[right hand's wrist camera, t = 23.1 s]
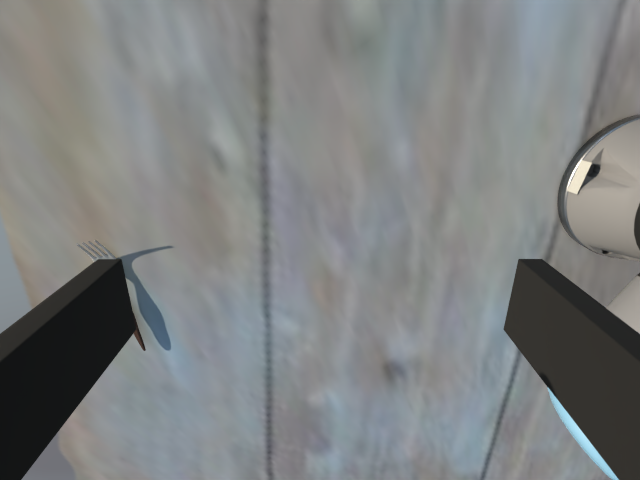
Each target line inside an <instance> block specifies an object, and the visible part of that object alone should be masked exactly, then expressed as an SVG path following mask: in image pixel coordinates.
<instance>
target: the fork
mask: <svg viewBox="0 0 640 480" xmlns="http://www.w3.org/2000/svg"><path fill="white" fill-rule="evenodd" d="M94 241H95V242H96V243H97V244H98V245H99V246H101V247H102V248H103V249H104V250H105V251H106V253H107V254H108V255H106V254H105V253H104V252H102V251H101V250H100V249H99V248H98V247H96V246H95V245H94V244H93V243H91V242H90V241H89V243H90V244H91V245H92V246H93V247H94V248H96V249H97V250H98V251H99V252H100V253H101V255H102V256H100V255H99V254H98V253H96V252H95V251H94V250H93V249H92V248H90V247H89V246H88V245H86V244H85V243H84V242H83V244H84V245H85V246H86V247H87V248H88V249H89V250H91V251H92V252H93V253H94V254H95V255H96V257H94V256H93V255H92V254H90V253H89V252H88V251H87V250H85V249H84V248H83V247H82V246H80V245H79V244H76V245H77V246H79V247H80V248H81V249H82V250H83V251H85V252H86V253H87V254H88V255H89V256H90V257H91V258H92V260H93V261H94V262H95V261H96V260H98V259H116V258H115V257H114V256H113V255H112V254H111V253H110V252H109V251H108V250H107V249H106V248H105V247H104V246H102V245H101V244H100V243H99V242H97V241H96V240H94ZM133 316H134V313H133ZM134 321H135V326H136V330H135V332H134V335H135V337H136V339H137V341H138V342H139V344H140V346H141V347H142V349H143V350H144V351H145V346H144V343H143V340H142V337H141V334H140V332H139V329H138V325H137V322H136V319H135V316H134Z"/></svg>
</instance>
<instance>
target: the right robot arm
mask: <svg viewBox="0 0 640 480" xmlns="http://www.w3.org/2000/svg"><path fill="white" fill-rule="evenodd" d="M558 212H559V217H560V220H561V223H562V225H563V227H564V229H565V230H566V232H567V233H568V234H569V236H570V237H572V238H573V239H574V240H575V241H576V242H578V243H579V244H581V245H582V246H584V247H586V248H588V249H589V250H591V251H593V252H595V253H598V254H601V255H605V256H608V257H613V258H622V259H628V260H633V261H640V115H635V116H631V117H628V118H625V119H622V120H619V121H617V122H615V123H613V124H611V125H609V126H608V127H606V128H604V129H603V130H601V131H600V132H598V133H597V134H596V135H594V136H593V137H592V138H591V139H590V140H588V141H587V142H586V143H585V144H584V145H583V146H582V147H581V149H580V150H579V151H578V152H577V153H576V155H575V156H574V157H573V159H572V160H571V162H570V163H569V165H568V167H567V169H566V171H565V173H564V175H563V178H562V181H561V184H560V188H559V193H558ZM135 330H136V326H135V321H134V316H133V311H132V307H131V302H130V297H129V293H128V288H127V283H126V279H125V274H124V269H123V265H122V260H121V259H98V260H96V261H95V262H94V263H92V264H91V265H90V266H89V267H87V268H86V269H85V270H83V271H82V272H81V273H79V274H78V275H77V276H75V277H74V278H73V279H72V280H70V281H69V282H68V283H66V284H65V285H64V286H62V287H61V288H60V289H58V290H57V291H56V292H54V293H53V294H52V295H51V296H49V297H48V298H47V299H45V300H44V301H43V302H41V303H40V304H39V305H37V306H36V307H35V308H34V309H32V310H31V311H30V312H28V313H27V314H26V315H24V316H23V317H22V318H21V319H19V320H18V321H17V322H15V323H14V324H13V325H11V326H10V327H9V328H7V329H6V330H5V331H3V332H2V333H1V334H0V480H21V479H22V478H23V477H24V475H25V474H26V473H27V471H28V470H29V469H30V467H31V466H32V465H33V464H34V462H35V461H36V460H37V458H38V457H39V456H40V454H41V453H42V452H43V451H44V449H45V448H46V447H47V445H48V444H49V443H50V441H51V440H52V439H53V437H54V436H55V435H56V434H57V432H58V431H59V430H60V428H61V427H62V426H63V424H64V423H65V422H66V421H67V419H68V418H69V417H70V415H71V414H72V413H73V411H74V410H75V409H76V407H77V406H78V405H79V404H80V402H81V401H82V400H83V398H84V397H85V396H86V394H87V393H88V392H89V391H90V389H91V388H92V387H93V385H94V384H95V383H96V381H97V380H98V379H99V377H100V376H101V375H102V374H103V372H104V371H105V370H106V368H107V367H108V366H109V364H110V363H111V362H112V360H113V359H114V358H115V357H116V355H117V354H118V353H119V351H120V350H121V349H122V347H123V346H124V345H125V344H126V342H127V341H128V340H129V338H130V337H131V336H132V334H133V333H134V332H135ZM504 331H505V332H506V333H507V334H508V336H509V337H510V338H511V340H512V341H513V342H514V344H515V345H516V346H517V347H518V349H519V350H520V351H521V353H522V354H523V355H524V357H525V358H526V359H527V361H528V362H529V363H530V364H531V366H532V367H533V368H534V370H535V371H536V372H537V374H538V375H539V376H540V377H541V379H542V380H543V381H544V383H545V384H546V385H547V388H548V390H549V393H550V398H551V401H552V403H553V405H554V407H555V409H556V411H557V413H558V415H559V416H560V418H561V420H562V421H563V423H564V424H565V426H566V427H567V429H568V430H569V432H570V433H571V434H572V436H573V437H574V438H575V440H576V441H577V442H578V444H579V445H580V446H581V447H582V448H583V450H584V451H585V452H586V453H587V454H588V456H589V457H590V458H591V459H592V460H593V461H594V462H595V463H596V464H597V465H598V467H599V468H600V469H601V470H602V471H603V472H604V473H605V474H606V475H607V476H609V477H610V478H611V479H612V480H640V273H639V274H638V275H637V276H636V277H635V278H634V279H633V280H632V281H631V282H630V283H629V284H628V285H627V286H626V287H625V288H624V289H623V290H622V291H621V292H620V293H619V294H618V295H617V296H616V297H615V298H614V299H613V300H612V301H611V303H610V304H609V305H608V306H607V307H606V308H605V307H604V306H603V305H601V304H600V303H599V302H597V301H596V300H595V299H593V298H592V297H591V296H589V295H588V294H587V293H586V292H584V291H583V290H582V289H580V288H579V287H578V286H576V285H575V284H574V283H572V282H571V281H570V280H568V279H567V278H566V277H565V276H563V275H562V274H561V273H559V272H558V271H557V270H555V269H554V268H553V267H551V266H550V265H549V264H548V263H546V262H545V261H544V260H542V259H519V260H518V265H517V269H516V274H515V279H514V283H513V288H512V293H511V297H510V302H509V307H508V311H507V316H506V321H505V326H504Z"/></svg>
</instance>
